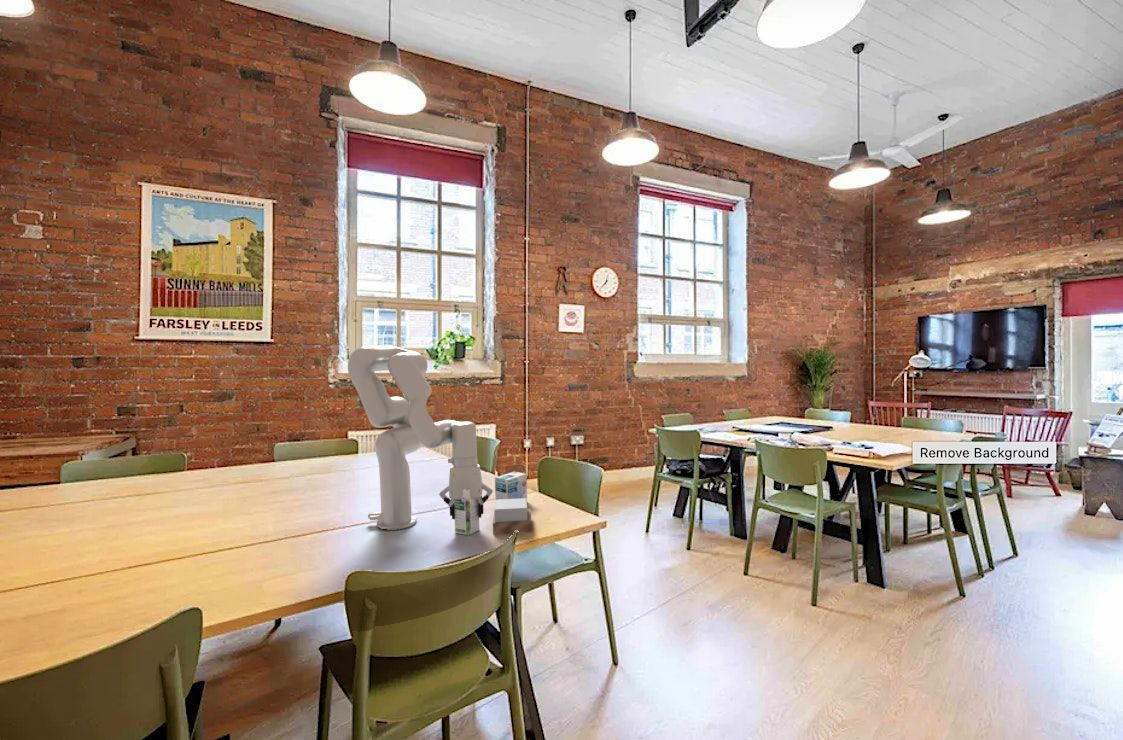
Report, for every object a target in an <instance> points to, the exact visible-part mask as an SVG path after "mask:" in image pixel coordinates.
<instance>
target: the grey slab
mask: <svg viewBox="0 0 1123 740" xmlns="http://www.w3.org/2000/svg"><path fill="white" fill-rule="evenodd" d="M527 503H528V497H527V498H519V499H498V500H496V499H495V506H494V511H495V522H507V521H527V509H528V504H527Z"/></svg>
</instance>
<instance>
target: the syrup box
mask: <svg viewBox="0 0 1123 740" xmlns="http://www.w3.org/2000/svg"><path fill="white" fill-rule="evenodd" d="M478 505H479V502H478V500H477V499H471V498H470V488H469V489H463V499H461V500H455V502H454V512H455V519H454V534H460V535H464V536H469V537H470V535H473V534H475V533H476V532H477V531H479V530H480V518H479V511H478Z"/></svg>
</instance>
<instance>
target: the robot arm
mask: <svg viewBox="0 0 1123 740" xmlns="http://www.w3.org/2000/svg"><path fill="white" fill-rule="evenodd" d="M428 367H429V366H428V361H427V359H426V357H425V356H424V355H422V354H421V353H419V352H416V351H413V350H409V349H405V348H401V347H398V346H393V345H365V346H360V347H358V348H356V349H354V351H352V352H351V354H350V356H349V358H348V361H347V373H348V376H349V378H350V380H351V382H352V384H353V387H355V389H356V391H357V394H358V396H359V399H360V401H361V402H360V403H361V405H362V406H363V408H364V411H365V414H366V416H367V418H368V419H367V420H368V421H369V423H370V424H371V426H373V427H375V428H379V429H380V428H386V427H390V426H391V427H392V428H391V429H387V430H384V431H383V432H381V433H380V434H379V435H378V436H377V437H376V439H375V443H374V446H375V447H374V449H375V454H376V457H377V463H378V473H379V475H378V476H379V491H380V492H379V494H380V510H379V511H378V512H373V511H372V512H368V514H367V518H368V519H369V520H370V521H375V520H377V521H376V527H377V528H378V527H379V528H381V529H380V530H382V529H387V530H386V531H398V530H404V529H406V528H409V527H412V526H414V525H415V524H416V523H417V520H418V518H417V516H416V515H414V514H412V513H413V511H412V491H411V490H412V489H411V470H410V465H409V463H408V460H407V459H406V455H408V454H411V453H414V452H417V451H418V450H419V449H420V448H421V447H422V446H425V447H426V448H429V449H436V448H439V447H442V446H445V445H448V444H451V443H452V444H451V447H452V448H451V449H452V450H451V451H452V453H451V454H452V457H451V458H447V463H448V464H451V466H450V469H449V477H448V485H447V486H446V487H444V489H442V490H441V491H440V492H439V494H438V495H439V497H440V498H441V499H442V500H443V502H444V503H445V504H447V505H448V508H449V517H450V516H451V519H452V520H455V512H454V502H455V500H461V499H463V489H469V488H470V498H471V499H477V500H478V502H479V505H478V511H479V519H480V518H482V515H484V504H485V502H486V501H487V500H489V498H490V496H491V495H492V494H493V492H494V491H493V489H492V488H491V487H489V486H487V485H486V484H485V483H483V477H482V471H481V465H480V464H479V463H478V447H477V439H478V438H477V425H476V423H474V422H472V421H456V420H451V419H444V420H440V421H437V422H436V421H435V422H434V420H433V419H432V417H431V415H430V413H429V411H428V408H427V401H428V398H429V397H430V395H431V394H432V392H433V391H432V390H433V389H432V387H431V385H430V383H429V382H428V380H427V379H426V377H425V374H426V373H427V371H428ZM380 371H382V372H383V371H388V373H390V375H391V377H392V379H393V380H394V382H395V384H396V385H397V387H398V388H399V390H400V391H401V393H402V395H403V396H404V397H401V396H392V397H391V396H390V395H389V393H388V391H387V389H386V386H385V385H384V383H383V381H382V380H381V378H379V377H378V376H377V374H375V372H380ZM483 491H485V492H486V493H485V495H484V496H483ZM447 493H448V496H447ZM379 528H378V529H379ZM397 529H398V530H397Z"/></svg>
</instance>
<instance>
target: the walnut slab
mask: <svg viewBox="0 0 1123 740" xmlns="http://www.w3.org/2000/svg"><path fill="white" fill-rule="evenodd" d="M492 518H493V520H492V534H493V535H505V534H506V535H509V534H514V533H513V532H514V531H515V530H518V531H519V532H527V533H531V532H530V531H532V532H533V521H532V519H533V518H532V510H531V508H527V521H507V522H495V510H494V511H493V517H492Z"/></svg>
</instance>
